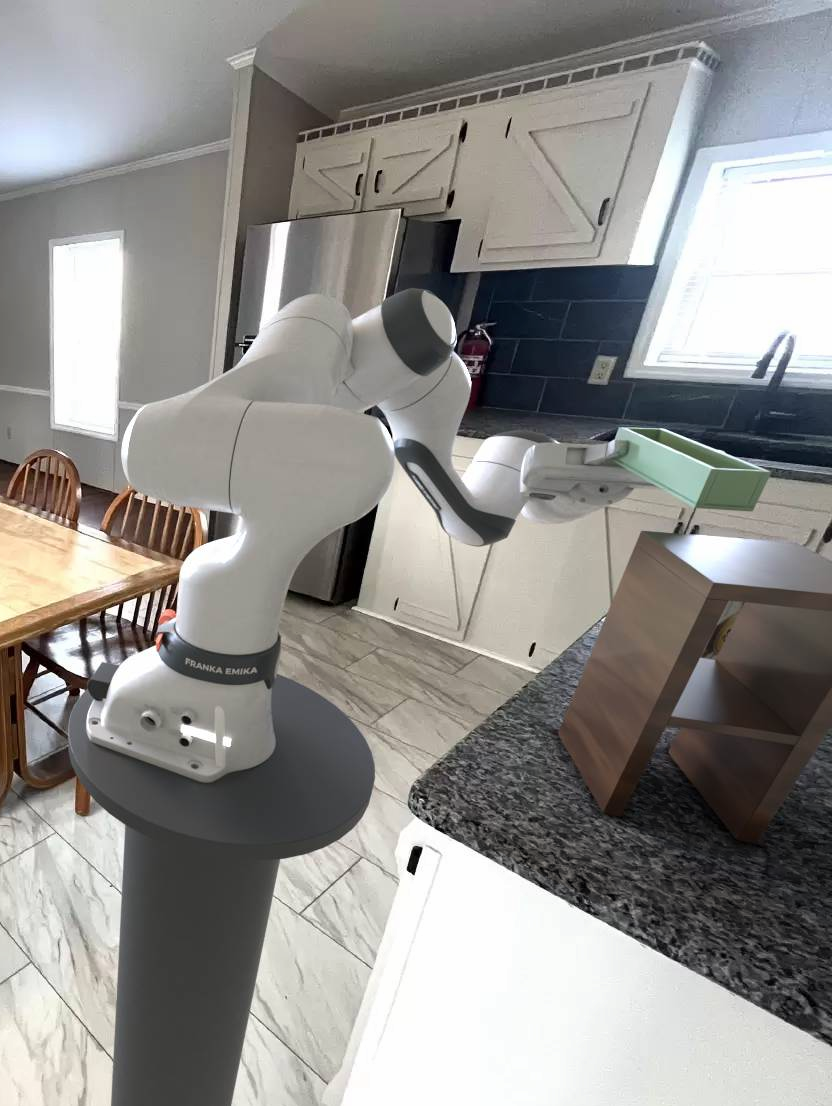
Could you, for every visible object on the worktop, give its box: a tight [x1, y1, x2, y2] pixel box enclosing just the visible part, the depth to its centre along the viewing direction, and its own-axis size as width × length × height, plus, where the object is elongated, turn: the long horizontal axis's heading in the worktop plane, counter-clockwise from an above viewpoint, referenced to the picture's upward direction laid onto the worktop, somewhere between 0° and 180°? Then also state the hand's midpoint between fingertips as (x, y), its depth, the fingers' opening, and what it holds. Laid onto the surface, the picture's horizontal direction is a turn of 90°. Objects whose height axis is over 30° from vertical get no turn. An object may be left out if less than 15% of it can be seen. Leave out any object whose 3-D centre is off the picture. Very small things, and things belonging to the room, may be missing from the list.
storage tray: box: [609, 426, 772, 512], centre depth 71 cm, size 4×22×4 cm, turn 159°
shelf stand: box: [557, 530, 832, 844], centre depth 63 cm, size 12×14×26 cm
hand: (651, 447), depth 77 cm, fingers closed on storage tray, 4 cm apart
